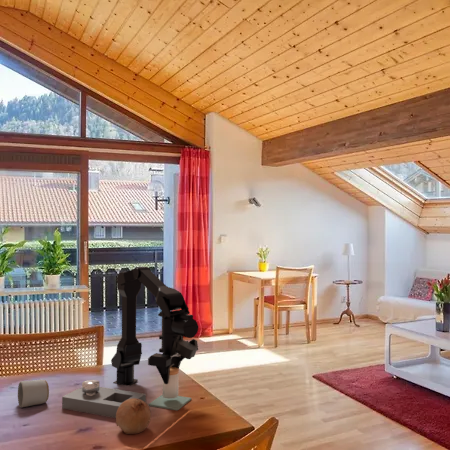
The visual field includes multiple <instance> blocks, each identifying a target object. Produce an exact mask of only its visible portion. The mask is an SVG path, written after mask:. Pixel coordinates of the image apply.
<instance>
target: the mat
mask: <svg viewBox="0 0 450 450" xmlns="http://www.w3.org/2000/svg"><path fill="white" fill-rule="evenodd" d="M190 401H192V397H189V396H188V397H187V396H183V395H182V396H181V395H178V397H176V398H164V397H163V396H162V394H161V395H159V396H158V397H157V398H155V399H154V400H152V401H151V402H150V403H148V404H147V405H148V407H154V408H159V409H166V410H171V411H176V412H177V411H178V410H180V409H181V408H183V407H184V406H185V405H186V404H188V403H189V402H190Z"/></svg>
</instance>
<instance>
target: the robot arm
mask: <svg viewBox="0 0 450 450" xmlns="http://www.w3.org/2000/svg"><path fill="white" fill-rule="evenodd" d="M116 285H117V286H116V288H117V291H118V292H119V293H120V296H121V338H120V340H119V341H118V343H117V344H116V345H117V346H116V350H115V351H116V352H115V354H114V355H113V357H112V358H111V360H110V362H111V367H113V368H115V369H116V380H115V381H113V384H115V385H123V386H132V385H133V384H135V383H137V382H138V379H136V378H135V366H137V365H138V366H139V365H140V362H141V358H142V355H143V352H142V351H143V349H142V347H143V346H142V345H143V344H142V342H140V341H139V340H138V339H137V296H138V294H139V293H140V291H141V288H142V285H143V286H144V287H145V288H146V290H148V291H149V292H150V293H151V294H152V295H153V296H154V298H155V304H156V305H157V306H158V307H159V309H160V310H161V311H160V312H159V313H158V314H157V315H158V317H160V318H161V334H160V335H159V336H158V338H159V339H158V340H161V348H159V349H158V352H156V353H153V354H152V355H150V356H149V357H148V358H147V365H148V366H152V367H155V368H156V369H157V371H158V374H159V375H160V378H161V379H162V382H163V381H164V384H168V382H169V375H170V368H171V367H176V368H178V369H180V366H181V364H182V362H183V360H185V359H186V360H191V359H192V358H194V357H195V356H196V352H198V351H199V345H198V340H196V339H195V338H194V337H195V336H197V334H198V332H199V324H198V322H197V321H196V319H194V315H193V314H191V313H190V310H189V306H188V305H187V302H186V300H185V298H184V296H183V293H181V292H180V291H178V290H177V289H176V288H173V287H169V286H167V285H166V284H165V283H164V282H163V281H162V280H161V279H160V278H159V277H158V276H157V275H156V274H155V273H153V271H152V270H151V268H150V267H148V266H140V267H139V266H138V267H135V268H133V269H130V270H127V271H120V272H119V273H118V275H117V276H116ZM184 337H185V338H187V339H191V340H185V339H184Z"/></svg>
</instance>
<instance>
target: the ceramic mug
mask: <svg viewBox="0 0 450 450" xmlns="http://www.w3.org/2000/svg"><path fill="white" fill-rule="evenodd" d="M49 388H50V387H49V383H48V381H47V380H45V379H35V380H24V381H23V380H22V381H19V383H18V387H17V401H18V406H19V408H25V407H26V408H27V407H32V406H36V405H41V404H45V403H47V402H48V401H49V397H50V389H49Z"/></svg>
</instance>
